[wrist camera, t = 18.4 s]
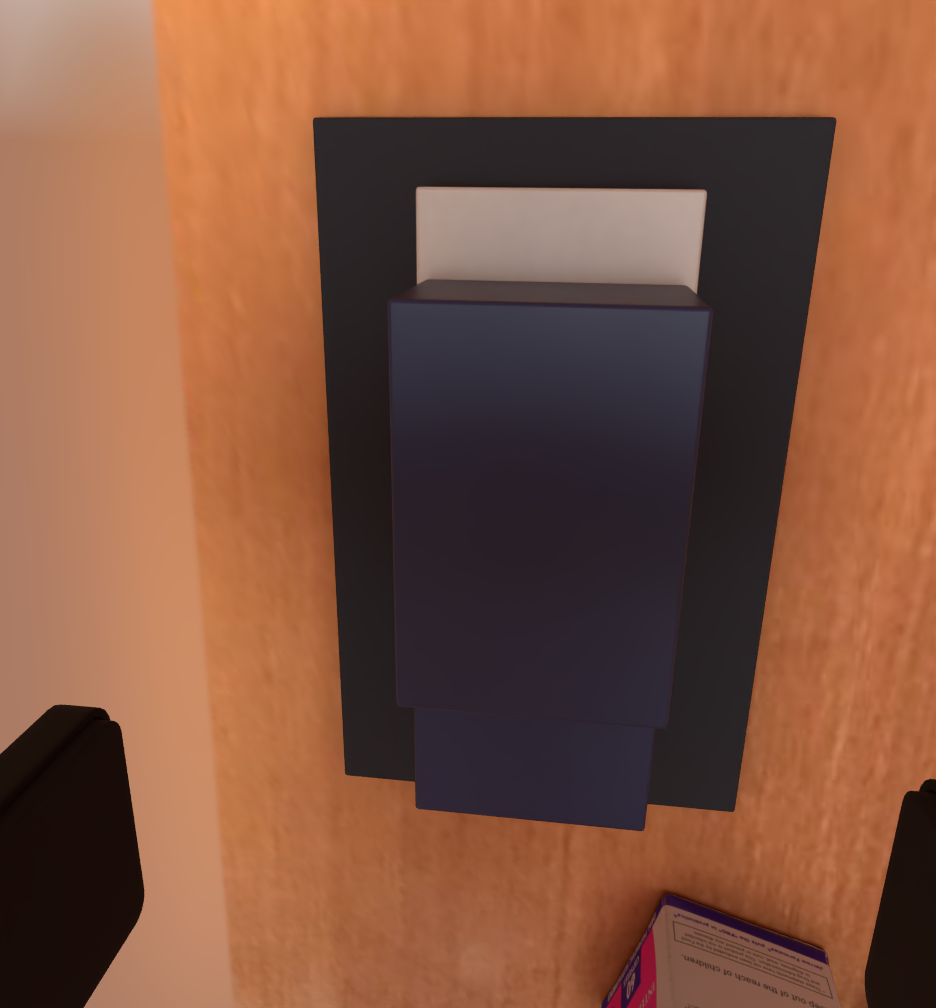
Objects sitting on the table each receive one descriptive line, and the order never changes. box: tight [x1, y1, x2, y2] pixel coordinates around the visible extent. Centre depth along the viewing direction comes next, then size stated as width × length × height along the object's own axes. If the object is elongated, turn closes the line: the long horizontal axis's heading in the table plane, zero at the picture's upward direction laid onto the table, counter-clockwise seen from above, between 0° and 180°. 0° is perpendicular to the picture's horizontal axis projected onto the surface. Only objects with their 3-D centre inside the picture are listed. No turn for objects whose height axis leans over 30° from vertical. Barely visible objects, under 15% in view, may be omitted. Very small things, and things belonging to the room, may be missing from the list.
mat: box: [313, 117, 836, 812], centre depth 23 cm, size 19×12×1 cm, turn 179°
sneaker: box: [388, 187, 713, 831], centre depth 20 cm, size 16×6×6 cm, turn 179°
